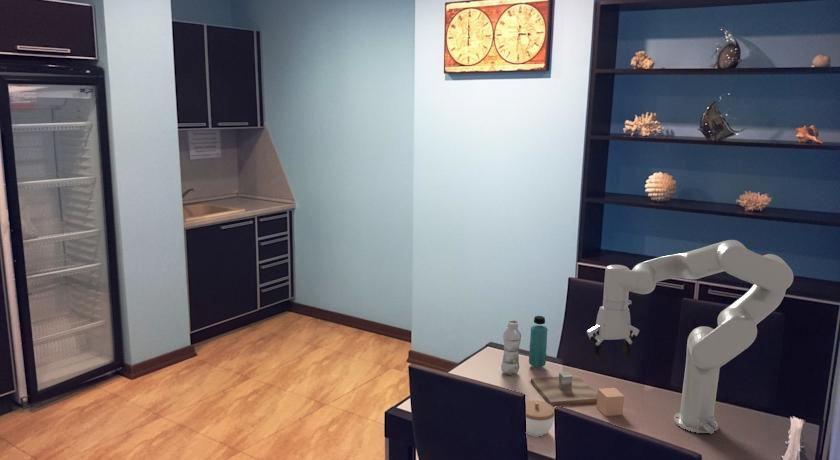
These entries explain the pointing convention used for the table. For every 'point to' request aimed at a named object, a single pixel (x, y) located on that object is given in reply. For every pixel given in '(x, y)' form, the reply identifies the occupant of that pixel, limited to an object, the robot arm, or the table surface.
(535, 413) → the lidded jar
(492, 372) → the table surface
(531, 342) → the beverage bottle
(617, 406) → the natural wood cube
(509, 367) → the plastic bottle
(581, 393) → the post board
